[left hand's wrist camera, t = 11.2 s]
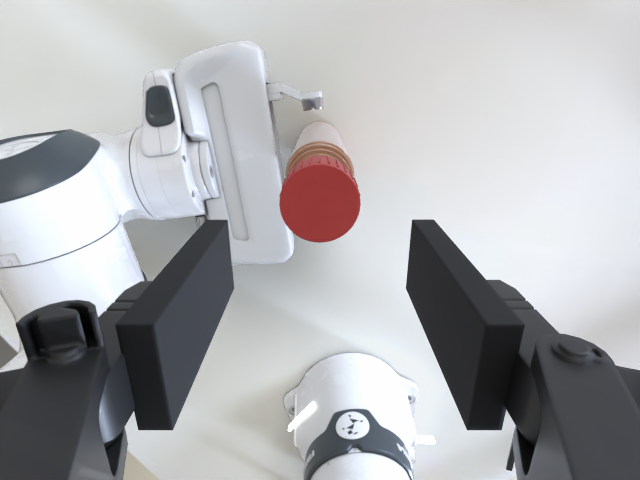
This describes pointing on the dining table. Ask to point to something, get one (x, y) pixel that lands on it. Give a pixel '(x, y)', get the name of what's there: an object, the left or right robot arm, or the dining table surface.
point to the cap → (319, 199)
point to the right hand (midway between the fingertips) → (328, 152)
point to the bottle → (319, 145)
